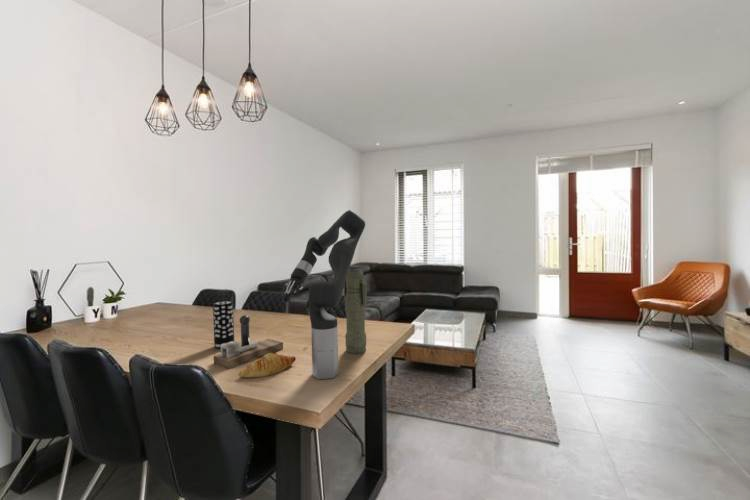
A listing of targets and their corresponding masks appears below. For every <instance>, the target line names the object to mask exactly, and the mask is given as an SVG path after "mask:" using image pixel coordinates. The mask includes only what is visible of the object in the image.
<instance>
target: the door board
mask: <svg viewBox="0 0 750 500" xmlns="http://www.w3.org/2000/svg"><path fill="white" fill-rule="evenodd" d="M257 342H258V347H255V348H252V349H249V350H246V351H243V352H240V345H241V344H240V343H239V342H235V341H234V342H233V341H231V342H228V343H224V344H221V345H220V347H221V349H220V353H219V354H215V355H213V364H214V365H217V366H220V367H223V368H225V369H232V368H234V367H238V366H240V365H243V364H245V363H248V362H251V361H255V360H258V359H260V358H262V357H263V356H264V355H265V354H267V353H276V352H278V351H281V350H283V349H284V342H283V341H280V340H275V339H271V338H266V339H263V340H261V341H257Z"/></svg>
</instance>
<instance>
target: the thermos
mask: <svg viewBox="0 0 750 500" xmlns="http://www.w3.org/2000/svg"><path fill="white" fill-rule="evenodd" d="M343 301H344V309H345V314H346V315H345V317H346V318H345V319H346V321H345V322H346V332H345V335H344V336H345V346H346V348H345V351H346V353H347V354H350V355H359V354H360V355H361V354H363V353H366V351H367V333H366V323H365V322H366V321H365V320H366V318H365V317H366V316H365V313H366V306H367V304H368V284H367V282H366V281H365V276H364V273H363V270H362V269H360V268H353V269H352V268H351V269H350V268H349V270H348V273H347V276H346V279H345V284H344V288H343Z"/></svg>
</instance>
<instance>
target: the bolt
mask: <svg viewBox="0 0 750 500" xmlns="http://www.w3.org/2000/svg"><path fill="white" fill-rule="evenodd" d="M250 322H251V319H250V317H249V315H246V314H244V315H241V316H240V318H239V323H240V343H241V344H240V352H243V351H246V350H249V349H252V348H255V347H258V342H259V341H255V340H253V341H250V337H251V336H250Z"/></svg>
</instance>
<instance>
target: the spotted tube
mask: <svg viewBox="0 0 750 500" xmlns="http://www.w3.org/2000/svg"><path fill="white" fill-rule="evenodd" d="M212 309H213V310H212V314H213V340H214V341H213V343H214V349H216V350H221V347H220V345H221V344H224V343H228V342H231V341H233V342H235V323H234V321H235V320H234V301H232V300H228V301H227V300H223V301H216V302H213V303H212Z"/></svg>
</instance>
